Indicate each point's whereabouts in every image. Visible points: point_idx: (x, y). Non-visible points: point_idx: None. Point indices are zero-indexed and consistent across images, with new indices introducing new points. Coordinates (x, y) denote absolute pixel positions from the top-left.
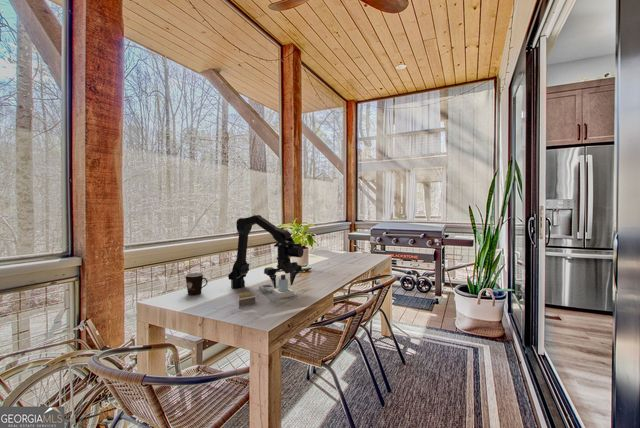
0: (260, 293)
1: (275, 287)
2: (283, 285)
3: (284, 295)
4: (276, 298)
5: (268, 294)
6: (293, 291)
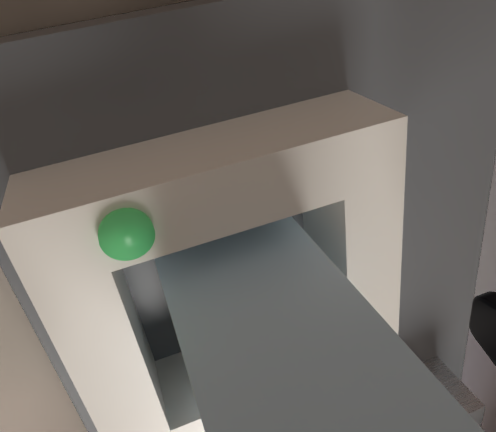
0: (464, 356)
1: (491, 296)
2: (335, 349)
3: (259, 126)
4: (396, 94)
5: (410, 310)
6: (14, 218)
